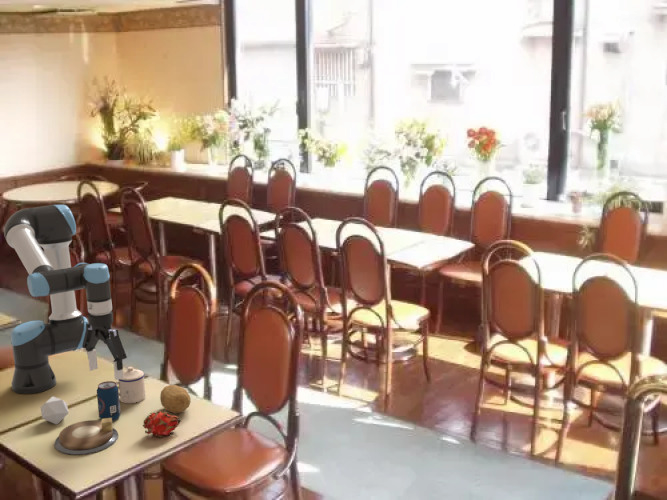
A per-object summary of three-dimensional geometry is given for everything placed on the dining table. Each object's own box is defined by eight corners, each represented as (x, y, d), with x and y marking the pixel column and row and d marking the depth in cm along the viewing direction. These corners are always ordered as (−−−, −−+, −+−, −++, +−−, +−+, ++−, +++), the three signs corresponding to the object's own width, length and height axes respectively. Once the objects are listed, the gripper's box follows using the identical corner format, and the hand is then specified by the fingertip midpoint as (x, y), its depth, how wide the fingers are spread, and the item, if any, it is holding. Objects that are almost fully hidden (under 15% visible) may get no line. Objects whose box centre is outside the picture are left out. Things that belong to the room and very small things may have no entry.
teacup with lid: (141, 391, 289) (139, 360, 286) (149, 400, 281) (147, 369, 279) (108, 398, 283) (105, 367, 280) (115, 408, 276) (112, 376, 273)
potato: (180, 399, 282) (179, 378, 280) (197, 414, 270) (196, 391, 268) (154, 406, 276) (152, 385, 274) (170, 421, 265) (168, 399, 263)
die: (75, 421, 268) (70, 393, 271) (59, 419, 260) (55, 391, 263) (53, 429, 269) (50, 401, 273) (37, 427, 261) (33, 398, 265)
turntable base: (42, 443, 252) (42, 441, 252) (94, 421, 266) (94, 419, 266) (78, 461, 240) (78, 459, 240) (130, 437, 255) (130, 435, 255)
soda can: (96, 417, 269) (92, 384, 266) (115, 411, 273) (112, 378, 270) (104, 424, 264) (100, 390, 261) (124, 418, 268) (121, 385, 265)
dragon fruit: (140, 441, 255) (178, 439, 260) (145, 436, 248) (184, 434, 253) (140, 414, 258) (177, 413, 263) (144, 408, 251) (182, 407, 256)
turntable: (57, 452, 244) (55, 437, 243) (61, 429, 259) (60, 415, 258) (112, 446, 247) (111, 431, 246) (113, 423, 263) (112, 409, 261)
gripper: (67, 308, 264) (73, 369, 269) (114, 322, 249) (120, 386, 254) (86, 302, 270) (92, 362, 275) (134, 315, 254) (139, 378, 260)
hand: (106, 374), depth 264 cm, fingers open, 13 cm apart
